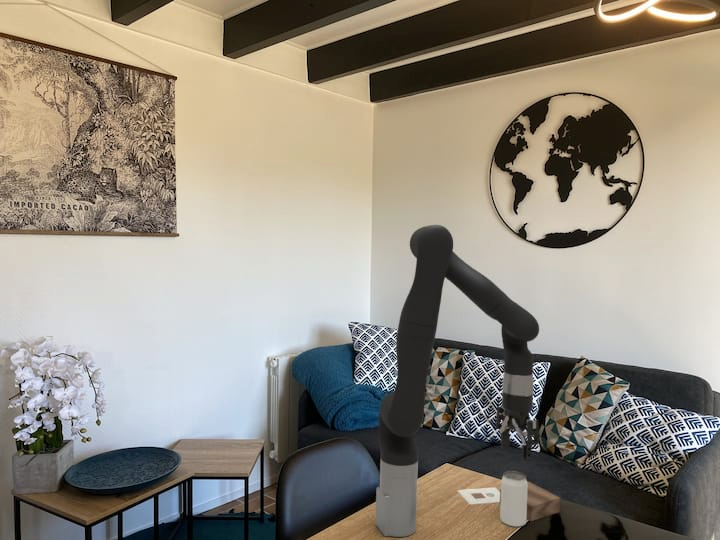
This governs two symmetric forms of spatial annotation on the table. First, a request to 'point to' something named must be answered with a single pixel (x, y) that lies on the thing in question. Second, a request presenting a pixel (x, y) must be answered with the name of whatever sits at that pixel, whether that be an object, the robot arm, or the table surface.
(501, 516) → the can
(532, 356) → the robot arm
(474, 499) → the page
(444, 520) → the table surface
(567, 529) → the table surface
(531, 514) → the base block
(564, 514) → the table surface
